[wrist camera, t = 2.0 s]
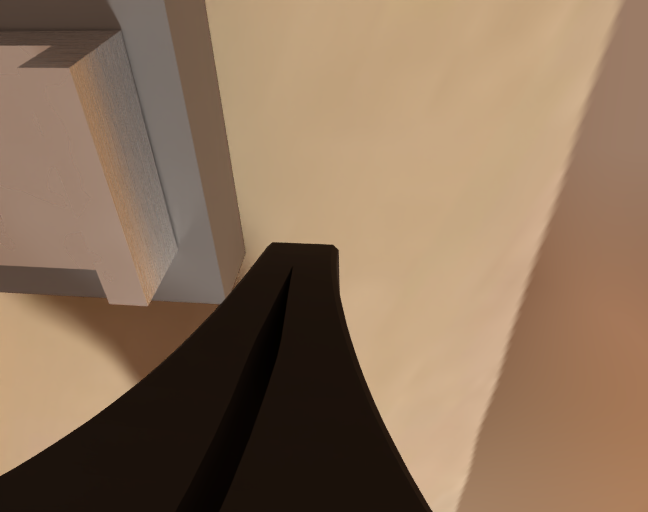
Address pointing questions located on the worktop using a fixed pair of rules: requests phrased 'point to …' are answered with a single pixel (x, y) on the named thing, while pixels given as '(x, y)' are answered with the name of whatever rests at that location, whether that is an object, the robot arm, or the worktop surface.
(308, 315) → the robot arm
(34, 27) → the socket board
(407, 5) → the worktop surface
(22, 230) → the plate
